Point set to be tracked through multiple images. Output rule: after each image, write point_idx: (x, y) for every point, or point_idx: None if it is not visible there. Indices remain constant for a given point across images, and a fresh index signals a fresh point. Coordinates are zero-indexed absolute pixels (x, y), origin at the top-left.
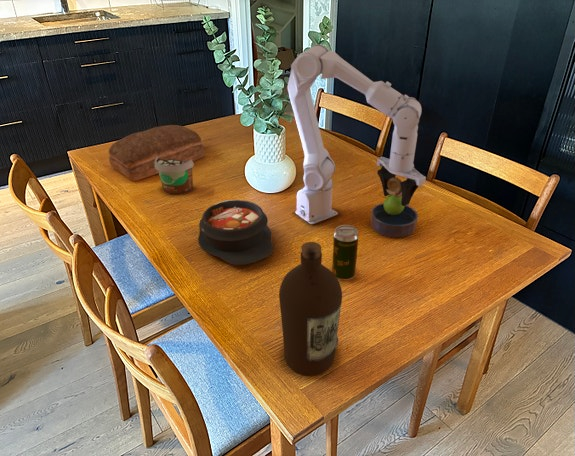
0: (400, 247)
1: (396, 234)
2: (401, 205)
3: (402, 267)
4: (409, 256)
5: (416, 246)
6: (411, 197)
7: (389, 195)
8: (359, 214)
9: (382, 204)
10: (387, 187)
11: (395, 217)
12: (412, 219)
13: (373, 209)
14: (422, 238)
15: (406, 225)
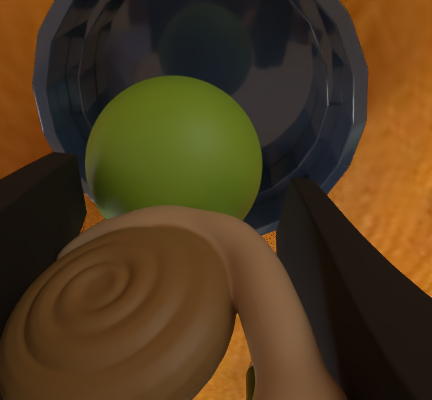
0: (342, 199)
1: None
2: (256, 192)
3: (406, 276)
4: (404, 220)
5: (404, 147)
6: (345, 220)
7: (110, 217)
8: (10, 126)
9: (48, 85)
10: (42, 264)
11: (154, 6)
12: (293, 6)
13: (81, 181)
14: (406, 63)
15: (338, 178)
